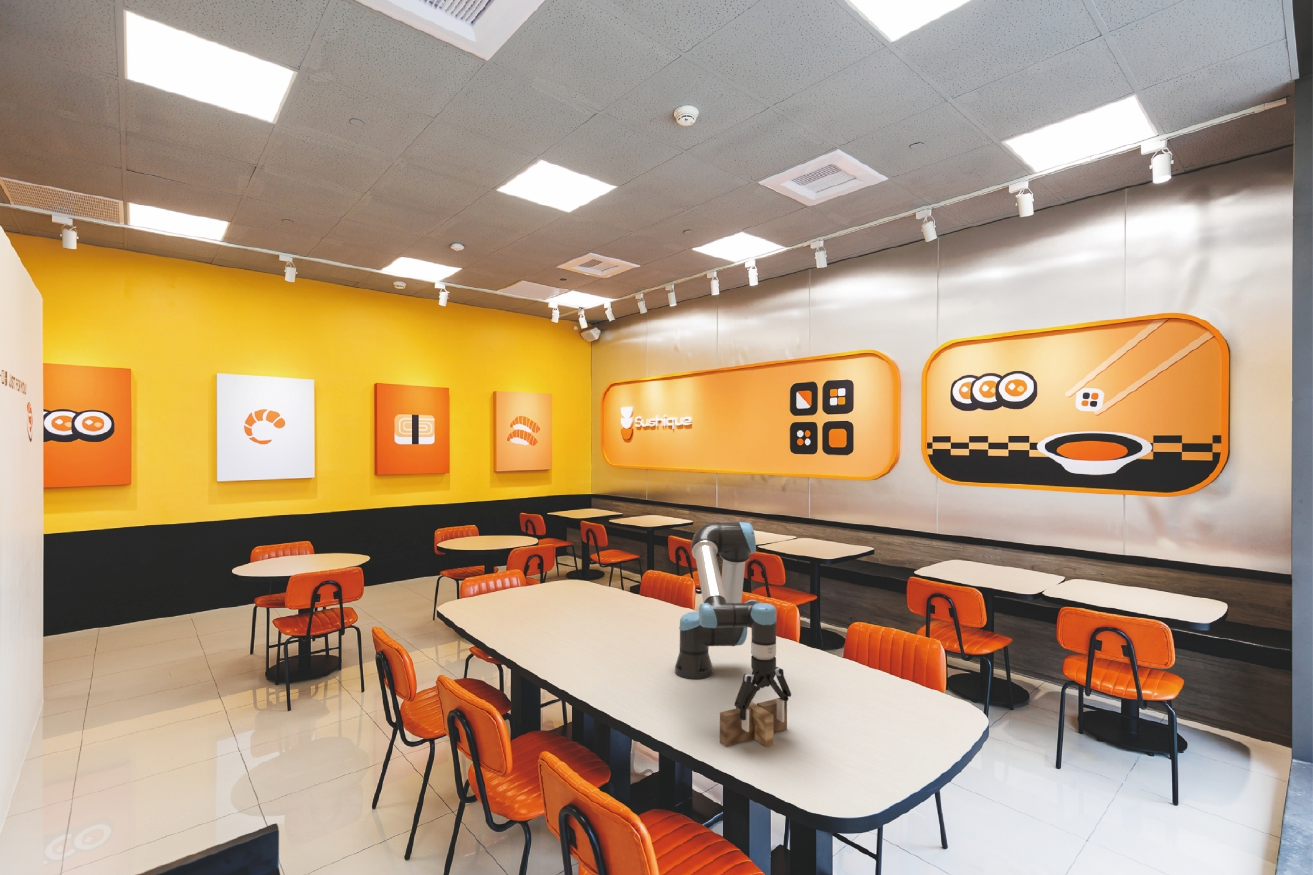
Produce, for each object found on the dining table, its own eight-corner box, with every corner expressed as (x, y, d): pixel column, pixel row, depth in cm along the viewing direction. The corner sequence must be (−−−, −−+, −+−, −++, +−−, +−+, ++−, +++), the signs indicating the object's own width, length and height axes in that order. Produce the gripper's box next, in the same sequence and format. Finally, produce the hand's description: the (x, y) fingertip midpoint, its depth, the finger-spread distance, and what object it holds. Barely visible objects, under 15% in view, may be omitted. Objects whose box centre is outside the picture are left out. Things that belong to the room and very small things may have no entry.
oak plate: (773, 744, 183) (773, 714, 184) (765, 746, 182) (765, 716, 182) (743, 724, 196) (743, 696, 197) (735, 726, 195) (735, 698, 195)
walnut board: (725, 746, 182) (725, 716, 182) (719, 741, 185) (719, 712, 185) (786, 729, 194) (787, 700, 194) (780, 725, 196) (780, 697, 196)
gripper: (738, 666, 176) (737, 739, 176) (802, 652, 188) (802, 721, 188) (723, 658, 183) (722, 728, 183) (786, 645, 195) (786, 711, 195)
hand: (763, 725), depth 185 cm, fingers open, 13 cm apart
